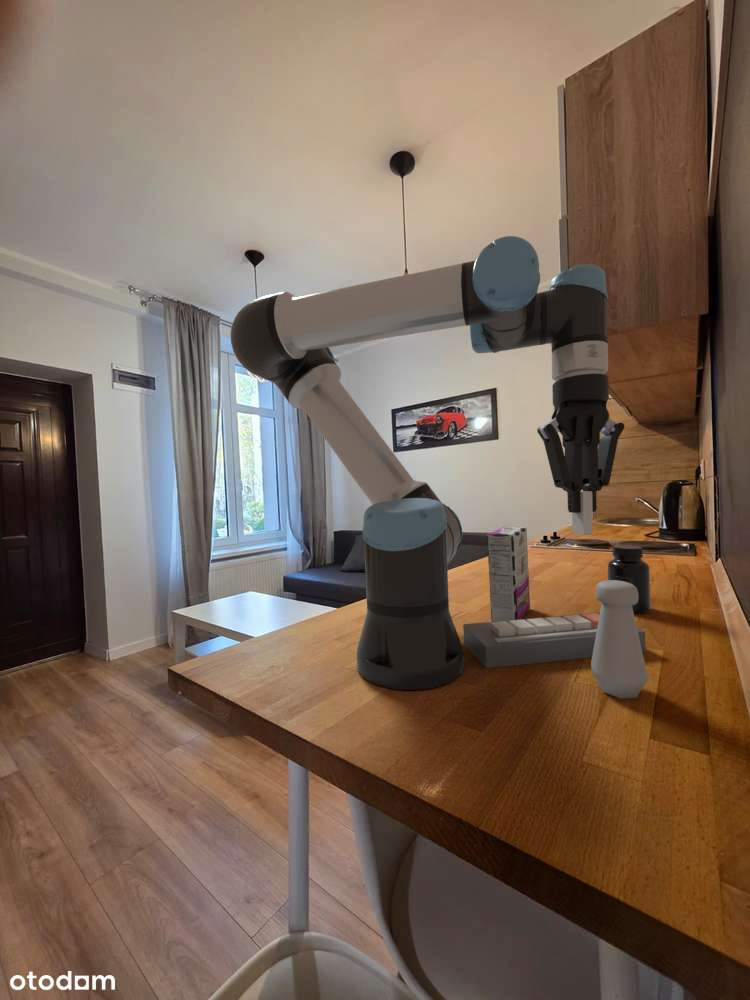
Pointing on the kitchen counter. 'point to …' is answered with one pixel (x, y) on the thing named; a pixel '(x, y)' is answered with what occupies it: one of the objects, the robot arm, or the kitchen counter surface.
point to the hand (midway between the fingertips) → (582, 533)
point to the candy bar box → (508, 573)
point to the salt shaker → (618, 642)
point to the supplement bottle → (632, 573)
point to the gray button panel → (534, 639)
